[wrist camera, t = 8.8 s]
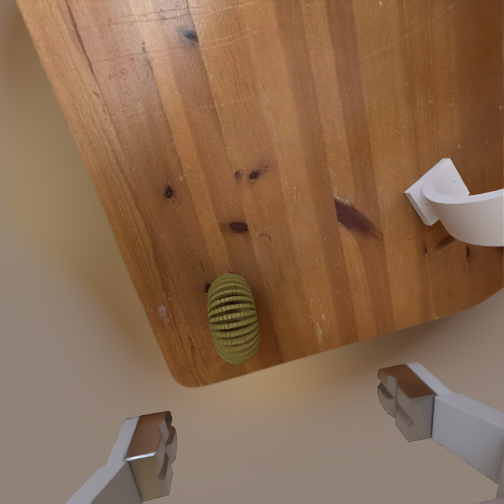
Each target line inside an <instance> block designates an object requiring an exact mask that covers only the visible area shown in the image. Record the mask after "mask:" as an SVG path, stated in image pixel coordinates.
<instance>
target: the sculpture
mask: <svg viewBox="0 0 504 504" xmlns="http://www.w3.org/2000/svg"><path fill="white" fill-rule="evenodd" d="M231 295H241V296H232V297H228V296H231ZM224 297H226V298H224ZM227 297H228V298H227ZM223 298H224V299H223ZM235 301H242V302H238V303H237V302H236V303H232V304H228V305H224V306H221V305H222V304H224V303H228V302H235ZM244 301H245V302H244ZM207 305H208V306H207V308H208V318H209V323H210V324H209V325H210V329H211V330H210V331H211V336H212V340H213V344H214V346H215V349H216V351H217V353H218V354H219V355H220V357H221V358H223V359H224V360H225V361H227V362H228V363H232V364H242V363H245V362H247V361H249V360H250V359H252V358H253V357H254V356H255V354H256V353H257V351H258V349H259V345H260V330H259V323H258V319H257V318H258V317H257V312H256V307H255V302H254V297H253V293H252V290H251V287H250V285H249V283H248V282H247V281H246V280H245V279H244V278H243V277H241V276H239V275H237V274H230V273H229V274H224V275H221V276H220V277H218V278H217V279H215V280H214V281H213V283H212V284H211V286H210V288H209V291H208V298H207ZM230 305H231V306H230ZM219 306H221V307H220V308H218V307H219ZM240 308H241V309H240ZM232 309H233V310H232ZM235 312H236V313H235ZM230 313H231V314H230ZM235 320H240V321H238V322H233V323H229V322H231V321H235ZM241 320H242V321H241ZM245 324H249V325H247V326H243V325H245ZM237 326H238V327H239V326H243V327H240V328H237V329H236V328H235V329H232V330H231V329H229V328H233V327H237ZM226 328H227V329H226ZM241 337H242V338H241ZM226 338H227V339H226ZM238 338H239V339H238ZM232 339H234V340H232ZM242 343H244V344H242ZM236 344H237V346H233V345H236ZM239 344H241V345H239ZM230 345H231V346H230ZM237 350H238V351H237Z"/></svg>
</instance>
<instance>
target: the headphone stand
mask: <svg viewBox="0 0 504 504" xmlns="http://www.w3.org/2000/svg"><path fill="white" fill-rule="evenodd" d="M404 193H405V195H406V196H407V198H408V199H409V201H410V202H411V204H412V206H413V207H414V209H415V210H416V212H417V213H418V215H419V216H420V218H421V219H422V221H423V222H424V224H425V225H430V226H431V225H433V224H434V223H435V222H436V221H437V220H439V219H440V221H441V222H442V224H443V225H444V227H445V229H446V230H447V232H448V233H449V234H450V235H451V236H453V237H454V238H456V239H458V240H460V241H463V242H466V243H470V244H475V245H482V246H504V189H501V190H497V191H493V192H489V193H484V194H479V195H473V196H467V195H469V194H470V193H469V191H468V189H467V188H466V186H465V184H464V182H463V181H462V179H461V177H460V175H459V174H458V172H457V170H456V168H455V166H454V165H453V163H452V161H451V159H450V158H446V159H442V160H441V161H440V162H439V163H437V164H436V165H435V166H434V167H433V168H432V169H430V170H429V171H428V172H427V173H426V174H425V175H424V176H422V177H421V178H420V179H419V180H418V181H417V182H415V183H414V184H413V185H412V186H411V187H410V188H409V189H407V190H406V191H405V192H404Z"/></svg>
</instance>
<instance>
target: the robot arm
mask: <svg viewBox="0 0 504 504" xmlns="http://www.w3.org/2000/svg"><path fill="white" fill-rule="evenodd" d="M378 378H379V380H380V381H381V383H380V384H379V386H378V396H379V399H380V402H381V404H382V406H383V408H384V409H385V411H386V412H387V414H389V415H391V416H392V417H394V418H396V426H397V427H398V429H399V430H400V432H401V433H402V434H403V436H404V437H405V438H406V440H407V441H408V442H412V441H416V440H422V439H428V438H432V440H434V441H435V442H436V443H438V444H439V445H441V446H442V447H444V448H445V449H447V450H448V451H450V452H451V453H452V454H454V455H456V456H457V457H458V458H460V459H461V460H463V461H464V462H466V463H467V464H469V465H470V466H472V467H473V468H475V469H476V470H478V471H479V472H480V473H482V474H483V475H485V476H486V477H488V478H489V479H491V480H492V481H494V482H495V483H496V484H498V488H497V494H496V499H492V500H487V501H483V502H480V503H476V504H504V412H503V411H501V410H498V409H496V408H494V407H491V406H489V405H487V404H484V403H482V402H479V401H477V400H475V399H472V398H470V397H468V396H465V395H463V394H460V393H458V392H451V391H450V390H449V389H448V388H447V387H446V386H445V385H444V384H442V383H441V382H440V381H439V380H438V379H437V378H436V377H435V376H433V375H432V374H431V373H430V372H429V371H428V370H427V369H426V368H424V367H423V366H422V365H421V364H420V363H418V362H416V361H415V362H411V363H406V364H401V365H397V366H392V367H387V368H382V369H379V371H378ZM171 423H172V416H171V413H170V411H164V412H159V413H153V414H147V415H142V416H137V417H131V418H127V419H126V420H125V422H124V423H123V426H122V428H121V430H120V433H119V435H118V437H117V440H116V442H115V445H114V447H113V450H112V452H111V454H110V456H109V459H108V461H107V464H106V465H104V466H101V467H100V468H99V469H98V470H97V471H96V472H95V473H94V474H93V475H92V476H91V477H90V478H89V479H88V481H87V482H86V483H85V484H84V485H83V486H82V487H81V488H80V489H79V490H78V491H77V492H76V493H75V494H74V495H73V496H72V497H71V498H70V499H69V500H68V501H67V502H66V503H65V504H143V503H142V502H144V501H148V500H152V499H156V498H160V497H164V496H167V495H169V492H170V487H171V481H172V475H173V471H172V467H171V464H172V463H173V461H174V460H175V458H176V452H177V435H176V431H175V428H174V427H173V426H171Z"/></svg>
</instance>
